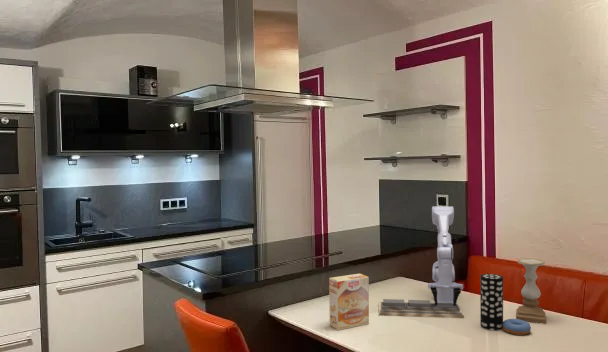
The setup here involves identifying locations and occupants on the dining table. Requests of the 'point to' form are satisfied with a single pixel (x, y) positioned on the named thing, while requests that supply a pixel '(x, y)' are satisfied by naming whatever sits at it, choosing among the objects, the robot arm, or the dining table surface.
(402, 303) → the key
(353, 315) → the coffeecake box
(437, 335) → the dining table surface
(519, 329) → the doughnut
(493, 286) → the spotted tube
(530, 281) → the candle holder
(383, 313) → the switch unit
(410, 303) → the key middle
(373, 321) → the dining table surface
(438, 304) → the key
